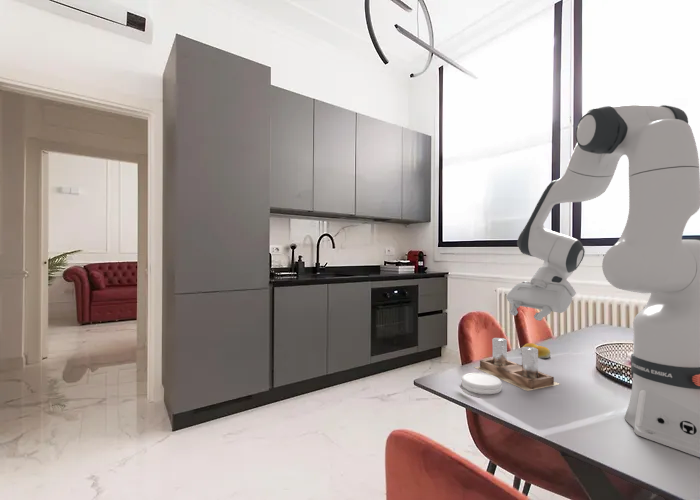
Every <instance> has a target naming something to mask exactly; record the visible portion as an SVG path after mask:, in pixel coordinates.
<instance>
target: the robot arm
mask: <svg viewBox="0 0 700 500" xmlns="http://www.w3.org/2000/svg"><path fill="white" fill-rule="evenodd" d="M575 140H576V144H575V147H574V149H573V151H572V153H571V156H570V159H569V161H568V164H567V166H566V170H565V171H564V173H563V174H562V176H561V177H560V178H558V179H555V180H552V181H551V182H550V183H549V184H548V185H547V186H546V188H545V189H544V190H543V192H542V194H541V196H540V198H539V200H538V201H537V203H536V205H535V208H534V209H533V211H532V213H531V215H530V217H529V219H528V220H527V223H526V224H525V226H524V227H523V228H522V231H521V232H520V233H519V235H518V238H517V241H516V245H517V247H518V249H519V251H520V253H521V254H522V255H523V254H524V255H527V256H529V257H535V258H536V259H539V260H542V261H543V264H542V266H541V267H539V268H538V269H537V271H536V272H535V274H534V275H533V277H532V278H531V279H530V281H528V282H527V281H522V282H519V283H517V284H515V285H514V286H513V287H512V288H511V290H510V291H508V293H507V294H506V296H505V297H506V301H507V302H509V304H510V305H511V308H510V310H509V313H510V315H511V316H517V314H518V313H519V311H518V308H520V307H523V308H524V307H525V308H530V309H534V310H535V309H536V310H540V311H539V312H535V314H534V315H533V318H534V319H535V321H540V322H542V320H543V319H544V318H545V317H546V316H548V315H550V314H551V313H552V312H553V313H558V314H561V313H565V312H566V311H567V310H568V308H569V307H570V305H571V304H572V302H573V297H575V296H576V295H577V292H576V290H575V288H574V287H573V286H572V285H571V283H570V282H569V281H568V280H567V279H568V278H569V277H571V276H572V275H573V273H574V272H575V271H576V270H577V269H578V267H580V265H581V263H582V262H583V259H584V257H585V254H586V253H585V248H584V245H583V243H582V242H581V241H580V240H579V239H577V238H575V237H572V236H569V235H566V234H564V233H560V232H557V231H553V230H551V229H548V228H546V227H545V226H544V224H545V222H546V221H547V218H548V217H549V215H550V213H551V211H552V209H553V208H554V206H555V205H558V204H564V203H581V202H586V201H591V200H594V199H596V198H598V197H600V196H602V195H603V194H604V193H605V192H606V191H607V189H608V188H609V186H610V184H611V182H612V180H613V177H614V174H615V172H616V169H617V167H618V164H619V161H620V159H621V158H622V157H623V156H624V155H625V156H626V157H627V160H628V189H629V190H628V192H629V193H628V195H629V196H628V197H629V199H628V200H629V205H628V207H629V209H628V216H627V218H626V219H627V220H626V224H625V226H624V228H623V232H622V233H621V235H620V237H619V238H618V240H617V242H616V243H614V244H613V246H611V247H610V248H608V250H607V251H606V252H605V254H604V256H603V259H602V265H601V267H602V272H603V275H604V278H605V279H606V280H607V282H608V283H609V284H610V285H611V286H613V287H614V288H617V289H619V290H622V291H627V292H632V293H637V294H650V295H649V299H648V301H647V303H646V304H645V306H644V308H643V309H641V310H640V311H639V312H638V313H637V314H636V315H635V316H634V318H633V322H632V330H633V331H632V333H633V335H632V336H633V338H632V339H633V340H632V341H633V345H632V346H633V353H631V356H630V373H631V377H632V384H631V385H632V386H631V393H630V397H629V402H628V406H627V410H626V412H625V414H624V419H625V421H626V422H627V423H628V424H629V425H630V426H631V427H632V428H633V431H634V433H635V435H637V436H638V437H642V438H645V439H647V440H649V441H652V442H655V443H658V444H660V445H664V446H667V447H670V448H672V449H676V450H678V451H681V452H684V453H686V454H689V455H691V456H693V457H694V456H695V457H698V458H700V239H683V234H684V231H685V228H686V225H687V223H688V222H689V220H690V219H691V217H692V216H694V215H695V214H696V213H697V212H698V211H699V210H700V161H699V160H700V159H699V152H698V147H697V143H696V139H695V135H694V133H693V129H692V127H691V126H690V123H689V118H688V115H687V113H686V112H685V111H684V110H682V109H681V108H678V107H676V106H671V105H665V104H664V105H663V104H662V105H649V104H648V105H647V104H637V103H633V104H632V103H631V104H618V105H612V106H611V105H601V106H597V107H594V108H591V109H589V110H587V111H586V112H584V114H583V115H582V116H581V118H580V119H579V121H578V123H577V126H576V128H575Z"/></svg>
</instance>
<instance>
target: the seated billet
mask: <svg viewBox="0 0 700 500" xmlns="http://www.w3.org/2000/svg"><path fill="white" fill-rule="evenodd" d="M521 348H522V352H521V365H522V376H524V377H526V378H529V379H536V378H538V371H539V358H538V349H537V348H533V347H523V346H521Z"/></svg>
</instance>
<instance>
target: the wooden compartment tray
mask: <svg viewBox="0 0 700 500" xmlns="http://www.w3.org/2000/svg"><path fill="white" fill-rule="evenodd" d="M473 368H474V369H476V370H478V371H481V372H482V373H485V374H489V375H493V376H495V377H497V378H499V379H500V380H501V381H504V382H506V383H508V384H510V385H513V386H515V387H517V388H520V389H521V390H524V391H527V392H529V391H533V390H534V391H535V390H539V389H544V388H548V387H555V386H558V385H561V383H559V382H557V381H554V379H555V377H554V376H552V375H550V374H546V373H544V372H540V371H539V370H538V378H536V379H529V378H526V377H524V376H522V364H519V363H516V362H514V361H511V360H509V359H507V366H501V367H499V366H496V365H494V364H493V357H492V358H488V359H480V360H479V366H473Z"/></svg>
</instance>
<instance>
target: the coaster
mask: <svg viewBox="0 0 700 500" xmlns="http://www.w3.org/2000/svg"><path fill="white" fill-rule="evenodd" d="M502 384H503V382H502V380H501V379H499V378H497V377H495V376H493V375H490V374H488V373H485V372H469V373H465V374H463V375H462V376H461V386H462V387H461V390H462V391H463V392H464V394H466V395H468V396H470V397H474V398H478V399H480V397H479V396H478V395H475V394H479V395H496V394H498V393H500V392H501V391H502V390H503V387H502Z"/></svg>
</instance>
